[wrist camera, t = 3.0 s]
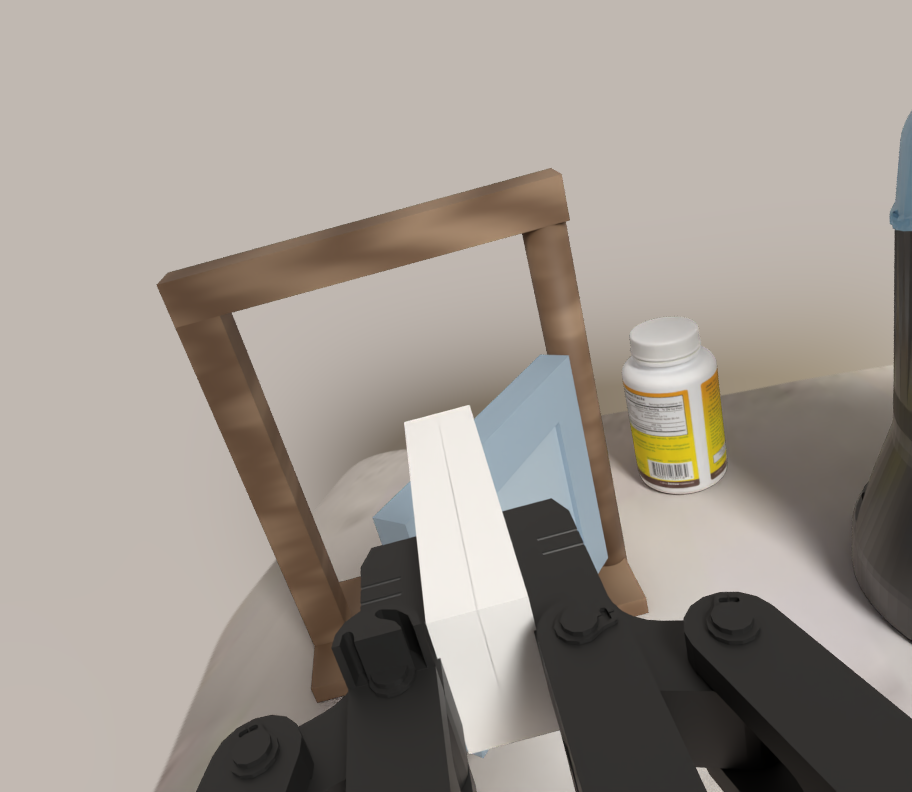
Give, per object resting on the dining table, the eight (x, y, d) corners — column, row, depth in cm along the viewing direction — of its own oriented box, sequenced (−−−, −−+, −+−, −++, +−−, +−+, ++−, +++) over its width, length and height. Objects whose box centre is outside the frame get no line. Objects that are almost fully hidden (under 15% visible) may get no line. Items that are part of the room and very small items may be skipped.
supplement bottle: (702, 441, 51) (686, 302, 46) (745, 481, 46) (731, 330, 41) (625, 465, 50) (601, 327, 46) (660, 508, 45) (637, 359, 41)
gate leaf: (582, 552, 40) (540, 354, 35) (608, 557, 40) (568, 355, 34) (453, 746, 31) (372, 517, 26) (483, 758, 31) (405, 524, 25)
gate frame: (606, 523, 45) (536, 159, 36) (652, 611, 38) (580, 185, 29) (324, 600, 45) (182, 256, 36) (317, 702, 38) (136, 306, 29)
